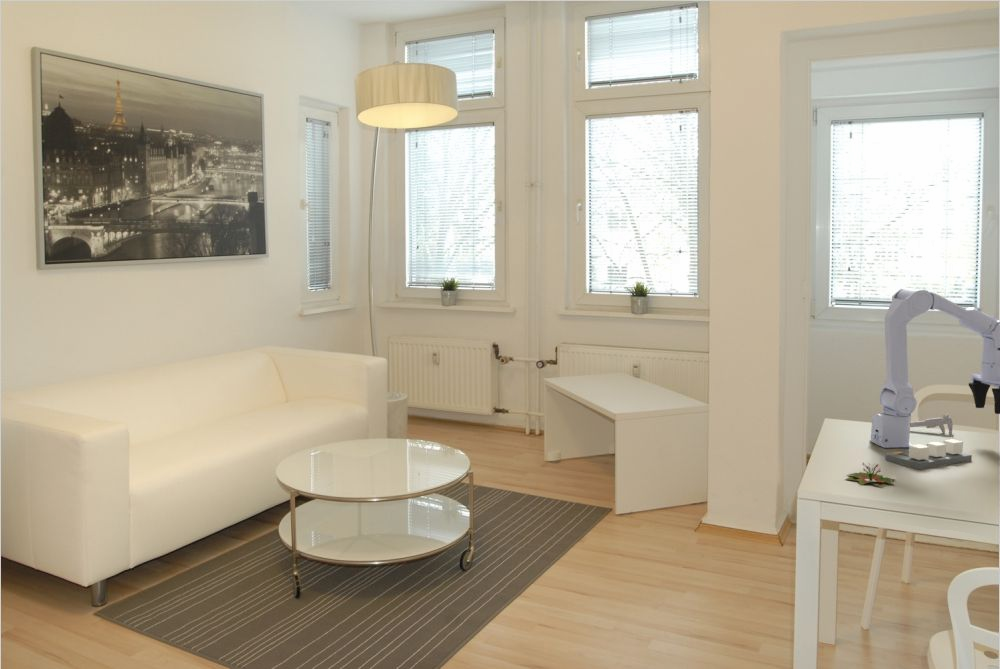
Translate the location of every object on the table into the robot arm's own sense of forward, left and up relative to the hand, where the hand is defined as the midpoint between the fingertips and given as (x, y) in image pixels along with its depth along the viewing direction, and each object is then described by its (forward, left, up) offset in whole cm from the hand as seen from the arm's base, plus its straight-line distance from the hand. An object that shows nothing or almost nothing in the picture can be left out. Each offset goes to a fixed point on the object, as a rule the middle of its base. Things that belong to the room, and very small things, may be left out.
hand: (989, 410), depth 234 cm
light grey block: (-32, -18, -8) cm, 37 cm away
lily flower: (-51, -30, -11) cm, 60 cm away
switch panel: (-26, -14, -10) cm, 31 cm away
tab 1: (-26, -16, -8) cm, 31 cm away
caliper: (-11, +17, -10) cm, 23 cm away
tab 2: (-19, -14, -8) cm, 25 cm away
